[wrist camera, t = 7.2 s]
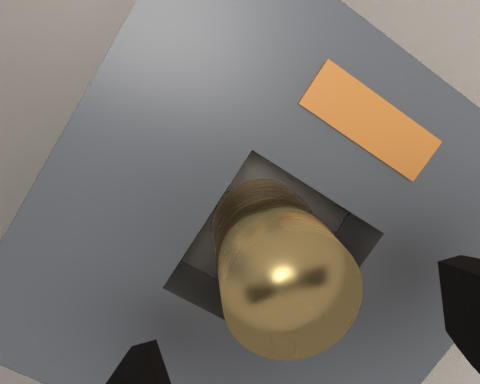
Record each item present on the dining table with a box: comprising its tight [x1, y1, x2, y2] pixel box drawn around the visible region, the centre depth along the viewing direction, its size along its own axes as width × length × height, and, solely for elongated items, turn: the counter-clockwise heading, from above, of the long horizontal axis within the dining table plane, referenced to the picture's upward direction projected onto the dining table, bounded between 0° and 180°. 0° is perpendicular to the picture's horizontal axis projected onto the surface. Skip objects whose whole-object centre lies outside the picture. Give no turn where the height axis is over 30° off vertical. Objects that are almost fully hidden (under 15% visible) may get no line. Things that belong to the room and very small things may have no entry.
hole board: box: [0, 0, 480, 384], centre depth 16 cm, size 16×16×3 cm
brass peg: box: [211, 179, 363, 360], centre depth 15 cm, size 4×4×6 cm
